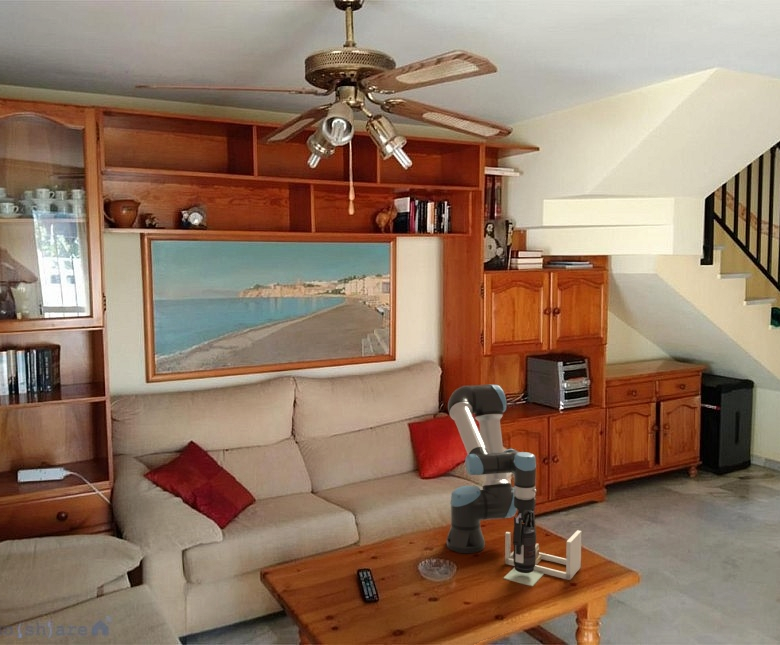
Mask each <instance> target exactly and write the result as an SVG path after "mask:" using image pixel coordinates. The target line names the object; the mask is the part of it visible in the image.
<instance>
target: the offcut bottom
mask: <svg viewBox="0 0 780 645" xmlns="http://www.w3.org/2000/svg"><path fill="white" fill-rule="evenodd" d="M541 561H542V559H541V555H539V556H538V558H537V559H536V561H535V565H538V564H539V563H540V562H541Z"/></svg>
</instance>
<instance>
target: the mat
mask: <svg viewBox="0 0 780 645" xmlns="http://www.w3.org/2000/svg"><path fill="white" fill-rule="evenodd" d="M544 575H545V574H544V573H541V572H537V571H534V570H533V572H531V573H521V572H518V571H516V570H515V566H513V568H512V569H511V570H510V571H509V572H508V573H506V575H505V576H504V577H503V580H507V581H510V582H511V581H512V582H515V583H519V584H521V585H525V586H526V585H527V586H529V587H534V586H535V585H536V584H537V582H538V581H539V580H540V579H541V578H542V577H543V576H544Z"/></svg>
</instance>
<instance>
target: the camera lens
mask: <svg viewBox="0 0 780 645" xmlns="http://www.w3.org/2000/svg"><path fill="white" fill-rule="evenodd" d="M535 529H536V527H535V528H533V527H527V526H526V527H525V531H524V536H523V544H522V545H524V554H523V563H519V562H515V558H516V545H513V551H514V553H513V560H514V565H515V566H514V567H515V570H516V571H518V572H521V573H531V572H533V570H534V567H535V561H536V554H535V553H536V550H535V545H536V543H537V532H536V531H537V530H536V531H535ZM513 533H514V531H513V532H512V534H513Z"/></svg>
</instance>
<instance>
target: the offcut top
mask: <svg viewBox="0 0 780 645" xmlns="http://www.w3.org/2000/svg"><path fill="white" fill-rule="evenodd" d="M538 549H539V550H540V544H539V543H537V542H536V545H535V550H536V552H537V550H538Z"/></svg>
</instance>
